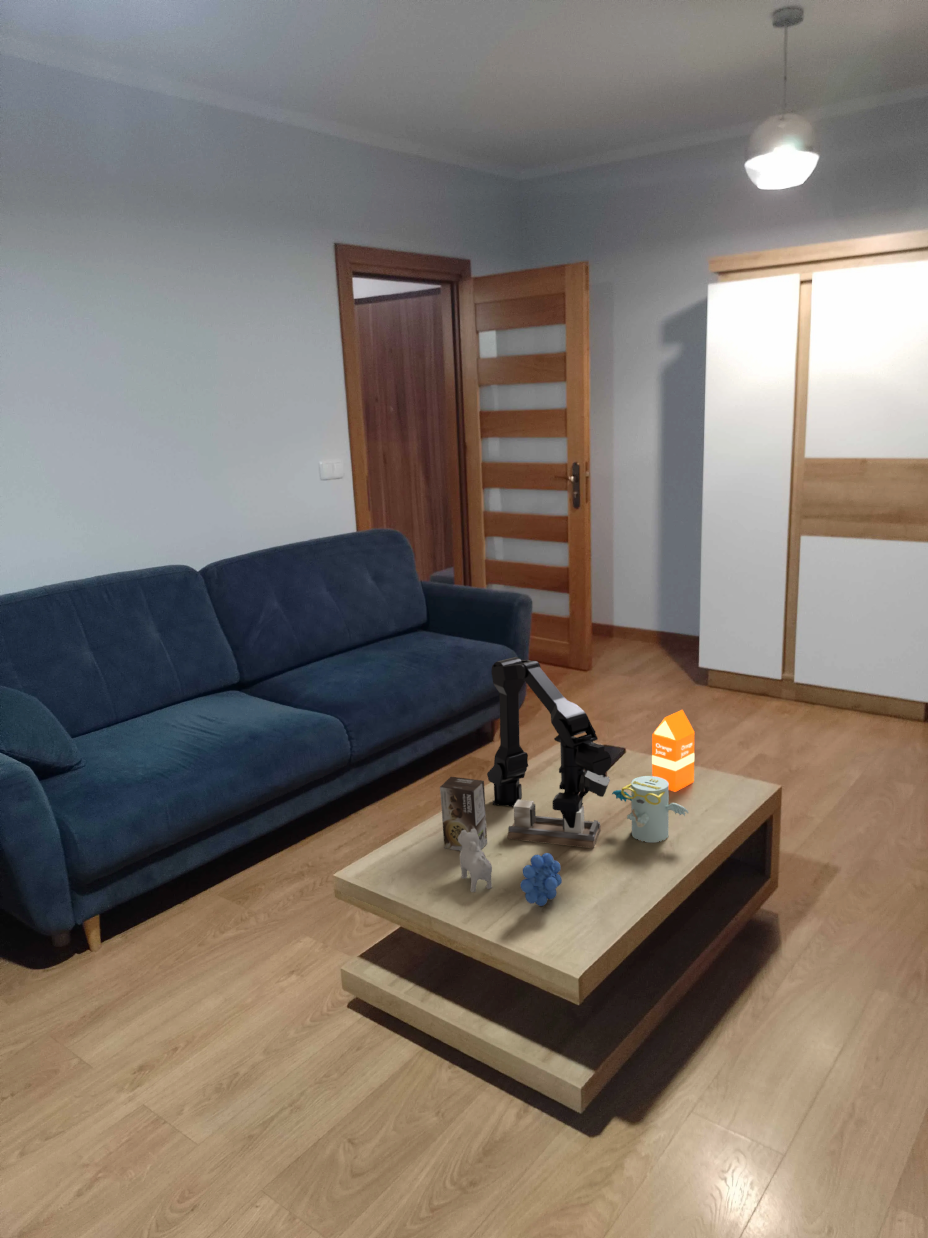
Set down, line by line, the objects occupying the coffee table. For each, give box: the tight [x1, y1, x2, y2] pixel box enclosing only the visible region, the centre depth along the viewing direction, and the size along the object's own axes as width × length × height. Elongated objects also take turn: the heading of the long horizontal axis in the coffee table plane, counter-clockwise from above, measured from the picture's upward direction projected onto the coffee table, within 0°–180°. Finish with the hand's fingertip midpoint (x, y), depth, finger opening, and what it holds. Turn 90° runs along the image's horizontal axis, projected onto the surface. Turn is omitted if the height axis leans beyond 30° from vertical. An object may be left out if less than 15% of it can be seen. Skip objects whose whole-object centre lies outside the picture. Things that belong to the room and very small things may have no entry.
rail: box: [507, 799, 602, 849], centre depth 222 cm, size 21×9×8 cm, turn 71°
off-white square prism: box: [562, 805, 585, 833], centre depth 220 cm, size 4×4×6 cm
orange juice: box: [651, 709, 695, 793], centre depth 246 cm, size 8×9×20 cm
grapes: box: [520, 852, 563, 907], centre depth 190 cm, size 12×7×12 cm, turn 132°
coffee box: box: [439, 776, 488, 852], centre depth 218 cm, size 9×6×16 cm
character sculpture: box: [611, 775, 689, 843], centre depth 218 cm, size 20×12×13 cm, turn 52°
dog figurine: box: [458, 829, 493, 893], centre depth 203 cm, size 5×13×11 cm, turn 20°
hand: (574, 822), depth 220 cm, fingers open, 5 cm apart
